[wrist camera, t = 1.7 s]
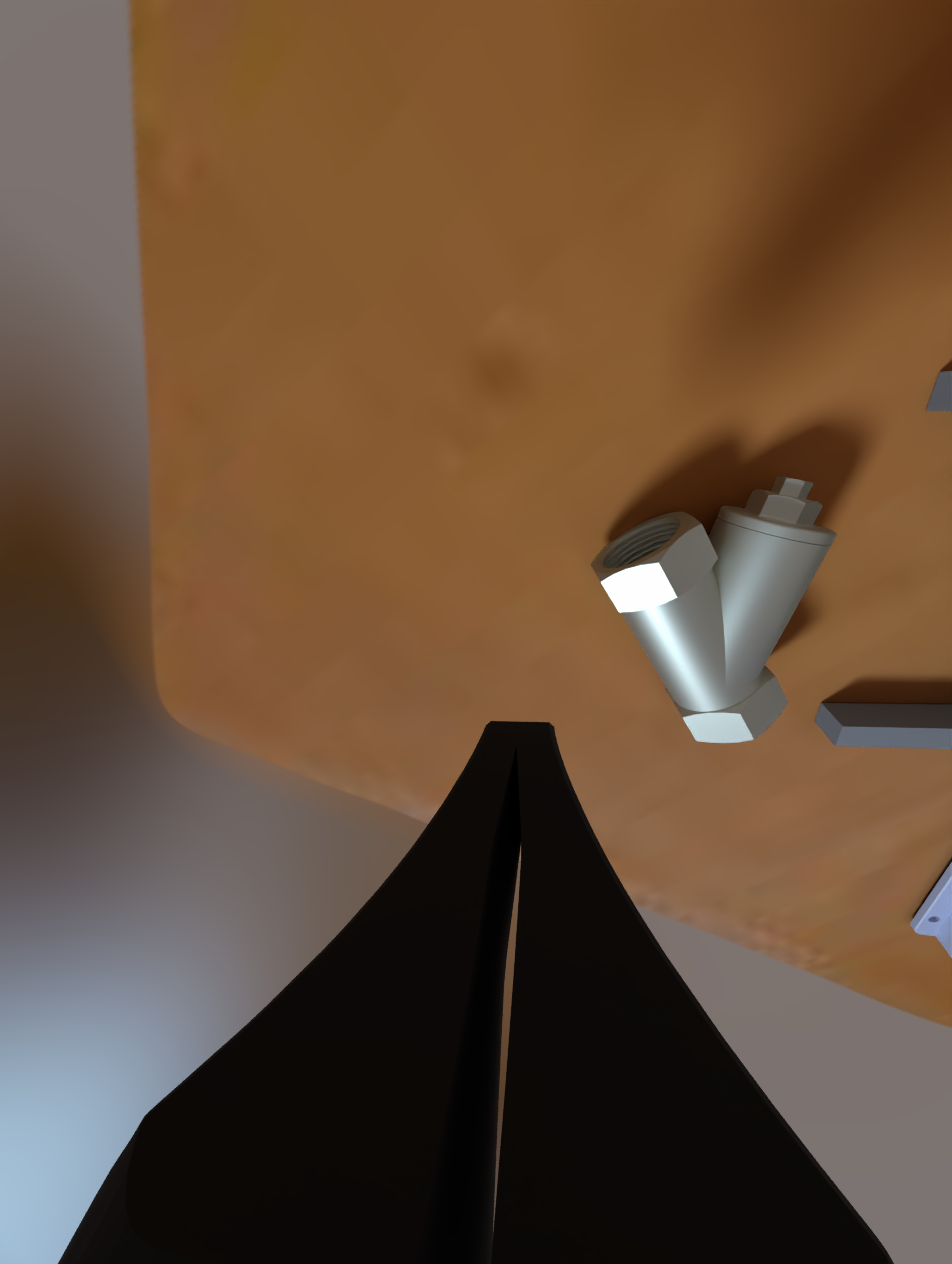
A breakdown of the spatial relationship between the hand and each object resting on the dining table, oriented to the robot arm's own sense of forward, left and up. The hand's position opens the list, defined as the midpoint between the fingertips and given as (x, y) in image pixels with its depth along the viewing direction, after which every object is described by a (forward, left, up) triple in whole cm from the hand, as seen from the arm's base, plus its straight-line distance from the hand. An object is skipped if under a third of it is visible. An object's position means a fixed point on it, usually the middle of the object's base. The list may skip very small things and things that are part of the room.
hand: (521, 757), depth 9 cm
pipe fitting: (0, -7, -10) cm, 12 cm away
